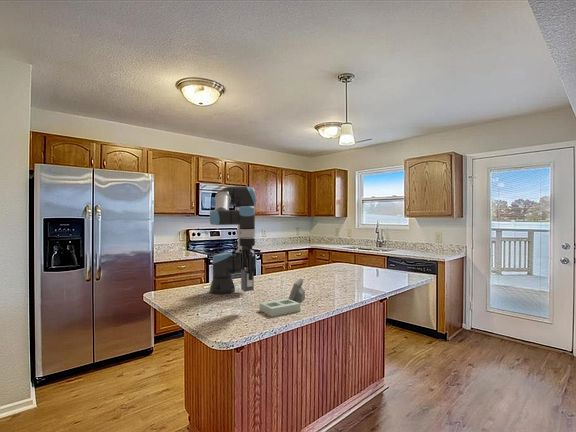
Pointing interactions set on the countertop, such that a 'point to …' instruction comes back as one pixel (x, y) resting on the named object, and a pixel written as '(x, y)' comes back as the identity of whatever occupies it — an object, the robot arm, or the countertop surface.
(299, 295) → the digital clock
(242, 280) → the charger
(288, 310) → the outlet plate
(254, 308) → the countertop surface
